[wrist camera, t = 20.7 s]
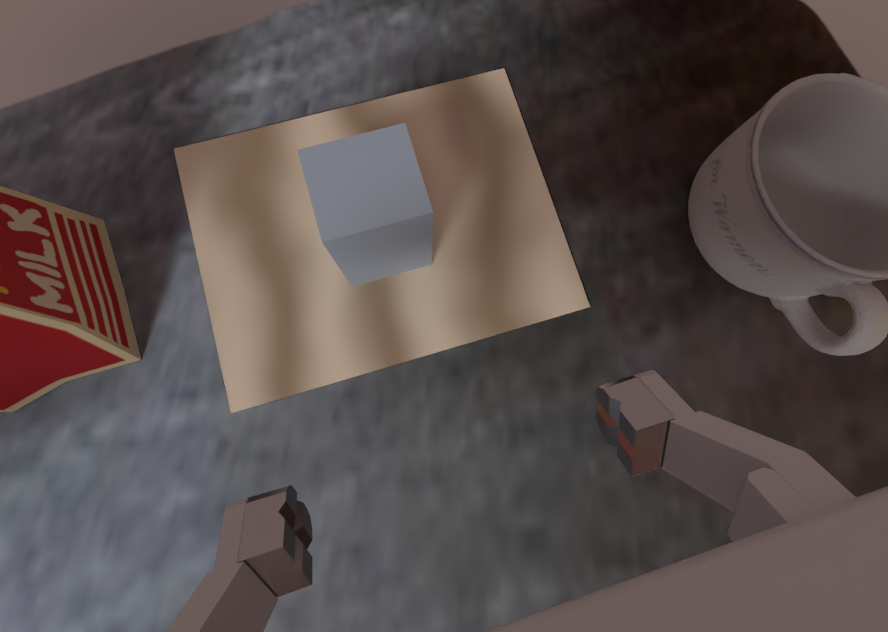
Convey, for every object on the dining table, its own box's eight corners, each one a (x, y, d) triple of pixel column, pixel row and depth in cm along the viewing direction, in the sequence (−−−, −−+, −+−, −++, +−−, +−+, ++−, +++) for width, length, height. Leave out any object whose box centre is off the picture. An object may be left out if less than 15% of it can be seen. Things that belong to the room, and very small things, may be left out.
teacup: (674, 138, 30) (761, 47, 22) (834, 170, 30) (976, 91, 22) (650, 342, 28) (738, 319, 20) (824, 377, 28) (981, 369, 20)
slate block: (352, 286, 27) (322, 242, 20) (333, 219, 28) (297, 150, 20) (431, 264, 28) (433, 212, 20) (411, 198, 29) (405, 122, 21)
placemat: (232, 413, 26) (231, 413, 26) (175, 150, 29) (173, 148, 29) (589, 307, 28) (590, 306, 28) (503, 70, 31) (504, 67, 30)
